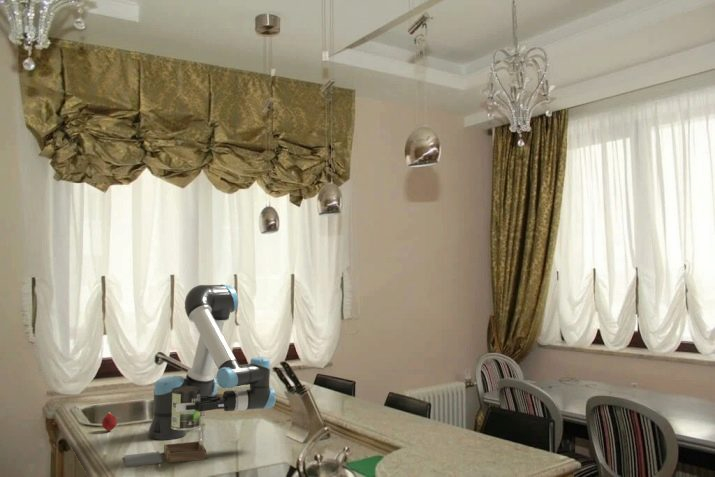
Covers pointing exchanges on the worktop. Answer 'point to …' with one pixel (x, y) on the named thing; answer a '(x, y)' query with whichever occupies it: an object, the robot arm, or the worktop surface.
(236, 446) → the worktop surface
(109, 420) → the onion
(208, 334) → the robot arm
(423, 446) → the worktop surface
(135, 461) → the mat
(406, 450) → the worktop surface
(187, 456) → the wooden square tray
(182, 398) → the coffee can
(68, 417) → the worktop surface
